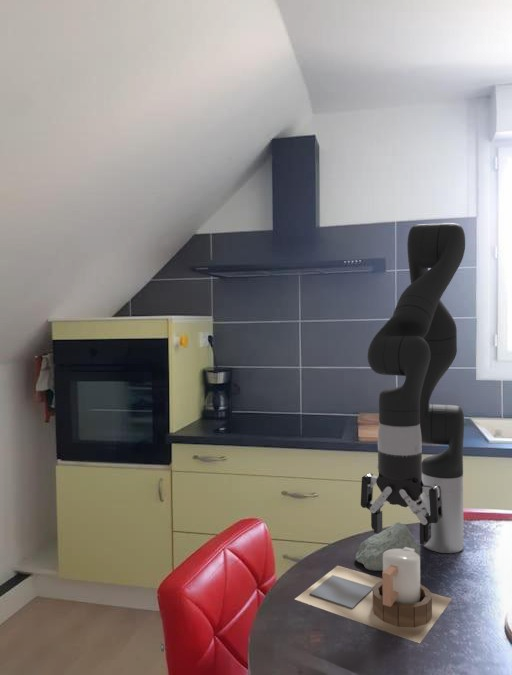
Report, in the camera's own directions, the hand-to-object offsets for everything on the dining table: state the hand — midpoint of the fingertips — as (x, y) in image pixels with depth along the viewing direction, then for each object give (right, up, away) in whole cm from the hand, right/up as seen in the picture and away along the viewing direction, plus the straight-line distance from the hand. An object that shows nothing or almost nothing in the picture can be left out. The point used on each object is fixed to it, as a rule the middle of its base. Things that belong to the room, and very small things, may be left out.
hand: (400, 537), depth 97 cm
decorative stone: (+2, -14, +20) cm, 24 cm away
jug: (0, -13, -1) cm, 13 cm away
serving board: (-4, -14, +5) cm, 16 cm away
